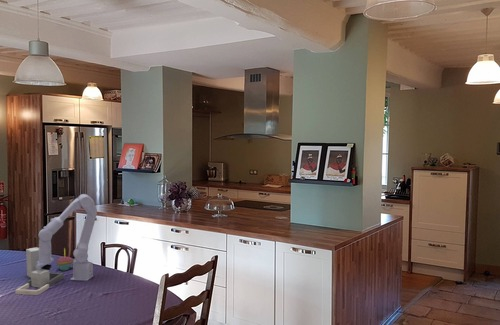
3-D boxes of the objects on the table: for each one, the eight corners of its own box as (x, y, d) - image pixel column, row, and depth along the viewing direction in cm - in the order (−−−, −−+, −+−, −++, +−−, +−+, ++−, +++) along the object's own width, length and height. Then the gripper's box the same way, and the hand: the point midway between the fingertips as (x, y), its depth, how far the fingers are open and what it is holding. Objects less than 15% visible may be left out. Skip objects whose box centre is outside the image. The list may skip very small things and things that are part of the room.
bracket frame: (49, 288, 218) (48, 284, 218) (37, 295, 208) (37, 291, 208) (27, 287, 219) (27, 283, 219) (15, 294, 209) (15, 290, 209)
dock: (63, 277, 235) (63, 273, 235) (48, 287, 220) (48, 282, 220) (43, 277, 236) (43, 272, 235) (27, 286, 221) (27, 281, 220)
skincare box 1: (43, 277, 235) (43, 249, 235) (31, 279, 231) (31, 251, 231) (37, 273, 241) (37, 246, 241) (25, 275, 237) (25, 248, 237)
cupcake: (56, 268, 253) (56, 247, 252) (72, 266, 256) (72, 245, 256) (56, 272, 245) (56, 250, 244) (73, 270, 249) (73, 249, 248)
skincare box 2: (41, 282, 226) (40, 268, 225) (50, 284, 224) (49, 269, 223) (31, 286, 220) (30, 272, 220) (40, 288, 218) (39, 273, 217)
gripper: (44, 249, 233) (44, 274, 234) (29, 256, 219) (29, 283, 219) (57, 249, 233) (57, 275, 234) (44, 256, 219) (43, 284, 219)
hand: (44, 279), depth 227 cm, fingers closed
